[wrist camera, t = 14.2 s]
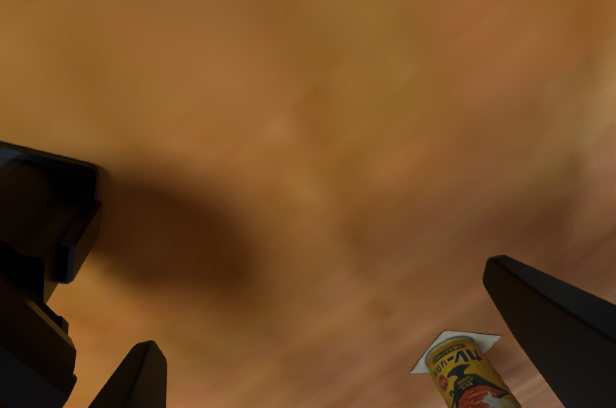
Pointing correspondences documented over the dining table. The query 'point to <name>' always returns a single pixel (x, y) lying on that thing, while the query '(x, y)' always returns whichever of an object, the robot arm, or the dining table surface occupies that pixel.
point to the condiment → (466, 371)
